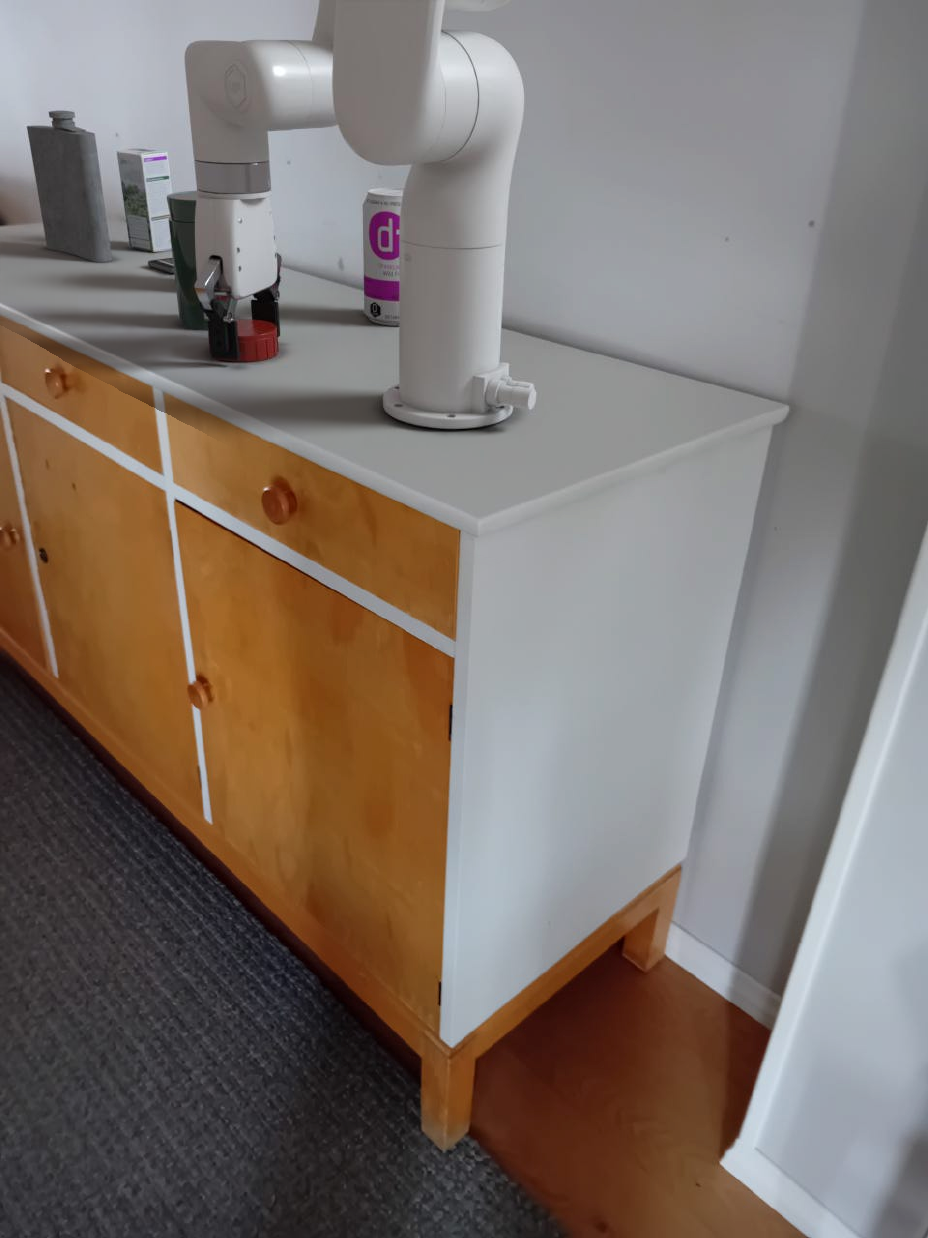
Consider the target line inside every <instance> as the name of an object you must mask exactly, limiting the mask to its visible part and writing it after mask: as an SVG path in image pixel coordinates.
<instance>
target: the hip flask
mask: <svg viewBox="0 0 928 1238" xmlns="http://www.w3.org/2000/svg"><path fill="white" fill-rule="evenodd" d="M48 118H50V119H52V120H51V125H27V126H26V130H27V136H28V142H29V148H30V154H31V159H32V166H33V172H34V178H35V184H36V190H37V196H38V202H39V208H40V214H41V219H42V220H41V221H42V226H43V232H44V238H45V243H46V244H45V245H46V249H47V250H52V251H57V252H61V253H67V254H70V255H74V256H77V257H80V258H83V259H85V260H88V261H90V262H93V263H108V262H112V261H113V255H112V248H111V240H110V235H109V233H110V232H109V228H108V226H109V225H108V220H107V213H106V205H105V198H104V191H103V182H102V176H101V169H100V162H99V154H98V148H97V147H98V146H97V139H96V133H95V132H92V131H91V132H90V131H87V130H86V129H83V128H81V127H78V126H76V122H75V121H74V119H76V113H75V111H71V110H51V111H50V110H49V111H48Z"/></svg>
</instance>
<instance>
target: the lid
mask: <svg viewBox="0 0 928 1238" xmlns="http://www.w3.org/2000/svg"><path fill="white" fill-rule="evenodd" d="M232 321H237V328H238V340H239V352H240V357H239V358H238V359H237V360H230V359H222V358H215V359H217V360H220V361H224V362H231V363H251V362H252V363H253V362H260V361H267V360H269V359H272V358H274V357H276V356H277V355H278V354H279V353H280V349H279V337H278V334H277V327H276V325H275V324H273V323H270V322H267V321H262V320H253V319H252V318H250V319H249V318H237V319H236V318H235V320H232ZM207 339H208V341H209V333H208V332H207ZM208 349H209V354H210V355H211V353H210V343H209V342H208Z"/></svg>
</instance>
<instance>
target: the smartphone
mask: <svg viewBox="0 0 928 1238" xmlns="http://www.w3.org/2000/svg"><path fill="white" fill-rule="evenodd" d="M147 265H148V266H149V267H150V268H153V269H157V270H160V271H162V272H166V273H169V274H174V265H173V257H167V258H160V259H151V260H148V261H147Z"/></svg>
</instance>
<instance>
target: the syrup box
mask: <svg viewBox="0 0 928 1238" xmlns="http://www.w3.org/2000/svg"><path fill="white" fill-rule="evenodd" d="M116 157H117V158H116V159H117V165H118V172H119V179H120V186H121V192H122V193H121V195H122V200H123V208H124V209H123V210H124V216H125V223H126V230H127V237H128V243H129V248H131V249H135V250H141V251H144V252H151V253H159V252H166V251H170V250H171V251H172V247H171V238H170V229H169V220H168V219H169V218H170V217H171V216H170V212H169V207H168V202H167V195H169V194H172V193H173V186H172V178H171V170H170V169H171V167H170V159H169V153H168V151H165V150H164V151H163V150H155V149H147V148H126V149H121V150H116Z"/></svg>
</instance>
